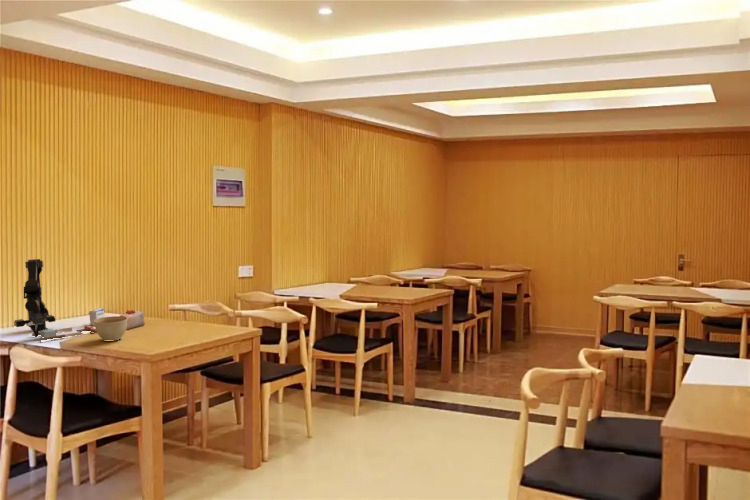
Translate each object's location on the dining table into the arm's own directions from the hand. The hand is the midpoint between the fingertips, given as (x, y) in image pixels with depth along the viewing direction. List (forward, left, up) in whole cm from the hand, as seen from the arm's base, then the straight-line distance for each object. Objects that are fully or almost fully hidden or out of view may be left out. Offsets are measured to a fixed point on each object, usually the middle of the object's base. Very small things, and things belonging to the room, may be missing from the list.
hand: (36, 337), depth 367 cm
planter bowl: (+30, +29, -2) cm, 42 cm away
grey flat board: (0, +14, -1) cm, 14 cm away
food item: (+8, +47, -2) cm, 48 cm away
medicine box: (-14, +36, -2) cm, 39 cm away
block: (0, +6, -2) cm, 6 cm away
